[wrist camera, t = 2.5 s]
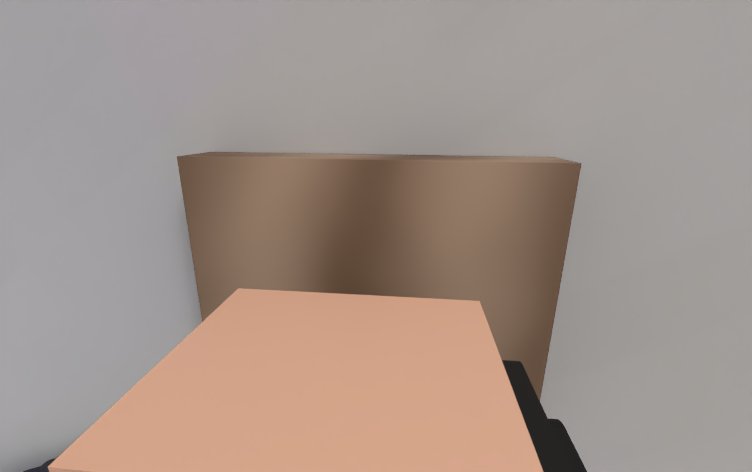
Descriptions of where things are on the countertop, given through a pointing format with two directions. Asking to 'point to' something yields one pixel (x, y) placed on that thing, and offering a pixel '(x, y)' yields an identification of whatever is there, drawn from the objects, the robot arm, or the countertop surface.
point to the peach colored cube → (319, 393)
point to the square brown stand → (388, 232)
